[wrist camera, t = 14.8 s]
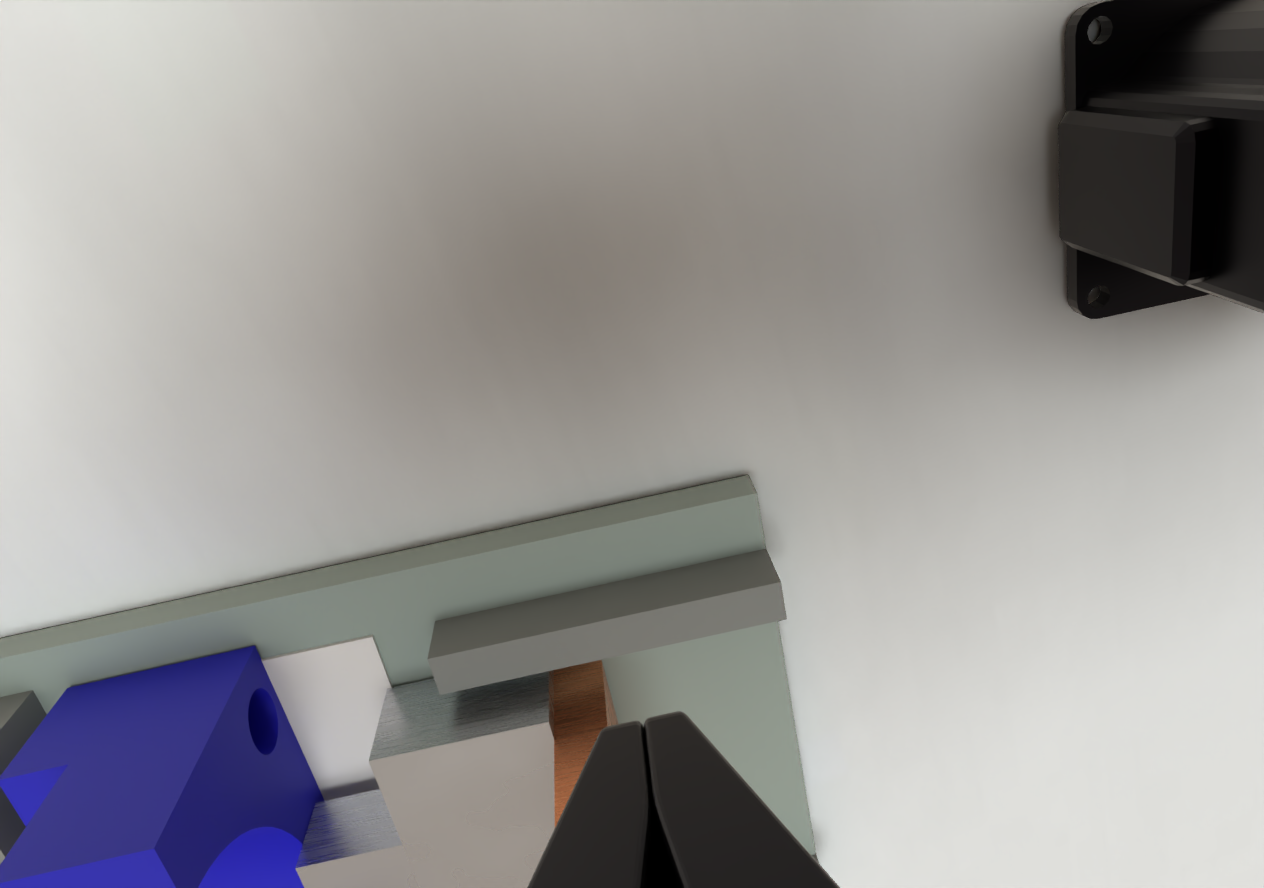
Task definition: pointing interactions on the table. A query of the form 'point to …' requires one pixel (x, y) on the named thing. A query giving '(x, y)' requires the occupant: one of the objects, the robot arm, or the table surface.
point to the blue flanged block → (163, 783)
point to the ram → (461, 784)
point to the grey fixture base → (480, 636)
